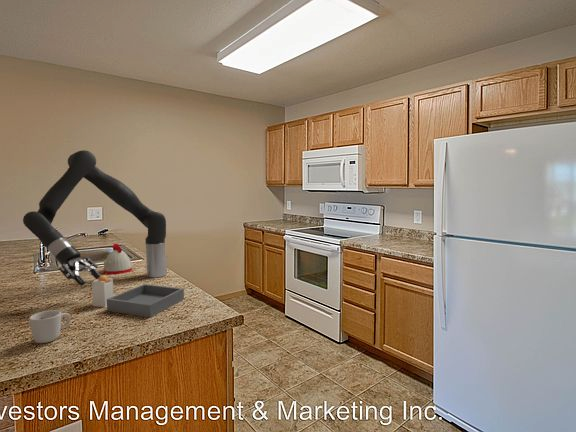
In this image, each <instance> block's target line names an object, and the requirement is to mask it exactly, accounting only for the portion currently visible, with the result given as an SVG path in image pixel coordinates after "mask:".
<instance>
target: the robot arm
mask: <svg viewBox="0 0 576 432" xmlns="http://www.w3.org/2000/svg"><path fill="white" fill-rule="evenodd" d="M96 164H97V158H96V156H95V155H94V154H93V152H91V151H89V150H78V151H76V152H74V153H73V154H70V155H69V157H68V158H67V165H68V168H67V170H66V171H65V172H64V174H63V175H62V176H61V177H60V178H59V179H58V180H57V181H56V182H55V183H54V184H53V185H52V186H51V187H50V188H49V189H48V190H47V192H46V193H44V196H42V198H41V199H40V201H39V203H38V207H39V208H38V210H37V211H35V210H34V211H28V212H27V213H26V214H24V216H23V219H22V221H23V224H24V227H26V228H27V229H28V230H29V231H30V232H31V233H32V234H33V235H35V236H36V238H37V239H38V240H39V241H40V243H41V244H42V245H43V246H44V247H45V248H46V249H47V250H48V252H49V253H50V254H51V256H53V258H55V259H56V261H57V262H58V263H59V264H60V265H61V266H60V267H59V268H58V270H59V271H60V272H61V273H62V275H63V276H64V277H65V278H66V279H67V280H69V281H70V280H71V279H72V280H74V281H75V282H76V283H77V284H78V285H79V286H81V287H82V286H84V285H85V284H86V283H87V282H86V280H85V279H84V278H83V277H82V276H81V275H80V273H79V272H87V273H89V274H91V275H92V277H94V280H96V279H98V278H99V277H100V276H102V275H101V274H100V273H99V271H98V270H97V268H98V267H99V266H98V264H96V263H95V261H93V260H92V259H91V258H90V257H89V256H86V257H85V258H83V257H81V252H80V251H79V250H78V249H77V248H76V246H74V245H73V244H72V243H71V242H70V241H69V240H68V239H66V237H64V235H63V234H62V233H61V232H60V231H59V230H57V229H56V228H55V227H54V226H53V225H52V223H53V222H54V218H56V214H57V212H58V210H59V209H60V208H61V207H62V205H63V204H64V203H65V201H66V199H68V197H69V196H70V194H71V193H72V192H73V190H74V189H75V187H77V186H78V184H79V183H80V181H82V180H83V178H84V180H86V181H88V182H90V183H91V184H93V185H94V186H95V188H97V189H99V191H101V192H102V193H103V194H104V195H106V196H107V197H108V198H109V199H110V200H111V201H113V202H114V203H115V204H116V205H118V206H119V207H121V208H122V209H124V210H125V211H127V212H129V213H130V214H132V215H133V216H134V217H135V218H136V219H137V220H138V221H139V222H140V223H141V224H142V225H143V226H144V227H145V228H146V229H147V236H146V237H145V259H146V262H145V265H146V277H148V278H151V279H152V278H153V279H155V278H162V277H164V276H166V275H167V273H168V269H167V268H168V266H167V264H168V263H167V255H166V245H165V244H166V241H165V239H166V237H167V220H166V216H165V215H164V214H163V213H161V212H158V211H154V210H153V209H150V208H149V207H148V206H146V205H145V204H144V203H142V201H141V200H140V199H139V198H138V196H137V195H136V193H135V192H134V191H133V190H132V189H131V188H130V187H128V185H126V184H125V183H124V182H122V181H121V180H119V179H117V178H116V177H113V176H112V175H109V174H107V173H105V172H103V170H101V169H99V167H97V166H96Z"/></svg>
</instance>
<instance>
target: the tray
mask: <svg viewBox="0 0 576 432" xmlns="http://www.w3.org/2000/svg"><path fill="white" fill-rule="evenodd" d="M184 299H185V289H184V288H181V287H175V286H174V287H171V286H163V285H157V284H156V285H154V284H147V283H146V284H145V283H144V284H141V285H138V286H136V287H134V288H131V289H129V290H126V291H124V292H121V293H118V294H117V295H114V296H113V297H111V298H108V299H107V306H106V309H107V312H113V313H119V314H120V313H121V314H125V315H126V314H127V315H133V316H134V315H135V316H139V317H145V316H146V318H152V317H154V316H156V315H158V314H159V313H161V312H163V311H165V310H167V309H169V308H171V307H172V306H174V305H176V304H178V303H180V302H182V301H183V300H184Z"/></svg>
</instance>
